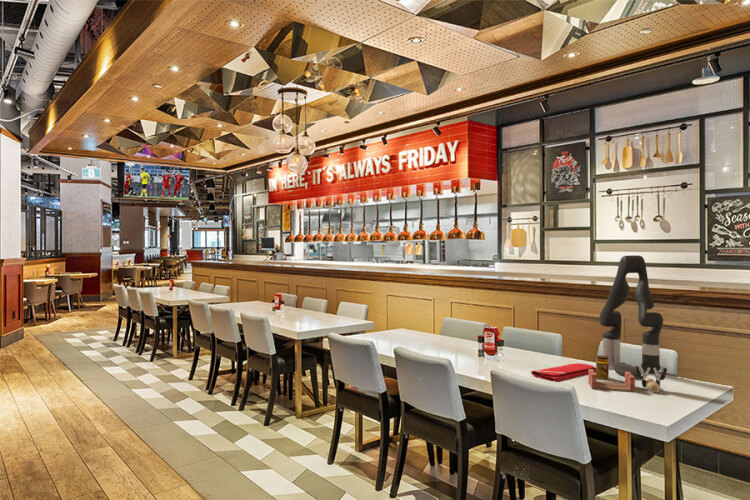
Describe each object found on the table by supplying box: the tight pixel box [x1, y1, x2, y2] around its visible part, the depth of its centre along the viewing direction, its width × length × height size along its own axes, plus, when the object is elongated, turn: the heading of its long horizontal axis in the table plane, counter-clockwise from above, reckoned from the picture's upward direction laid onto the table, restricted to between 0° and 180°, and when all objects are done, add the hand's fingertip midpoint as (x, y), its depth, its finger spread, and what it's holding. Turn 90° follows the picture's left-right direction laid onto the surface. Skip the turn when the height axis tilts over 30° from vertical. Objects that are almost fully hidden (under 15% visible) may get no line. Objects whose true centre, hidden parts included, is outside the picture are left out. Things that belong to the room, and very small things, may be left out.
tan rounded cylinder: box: [645, 375, 661, 394], centre depth 234 cm, size 12×5×5 cm, turn 164°
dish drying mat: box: [530, 362, 596, 382], centre depth 265 cm, size 16×41×4 cm, turn 123°
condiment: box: [595, 354, 610, 382], centre depth 255 cm, size 7×8×12 cm
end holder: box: [587, 369, 636, 393], centre depth 238 cm, size 12×19×7 cm, turn 74°
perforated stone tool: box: [614, 361, 642, 380], centre depth 258 cm, size 15×5×7 cm, turn 22°
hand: (650, 387), depth 234 cm, fingers closed on tan rounded cylinder, 5 cm apart
